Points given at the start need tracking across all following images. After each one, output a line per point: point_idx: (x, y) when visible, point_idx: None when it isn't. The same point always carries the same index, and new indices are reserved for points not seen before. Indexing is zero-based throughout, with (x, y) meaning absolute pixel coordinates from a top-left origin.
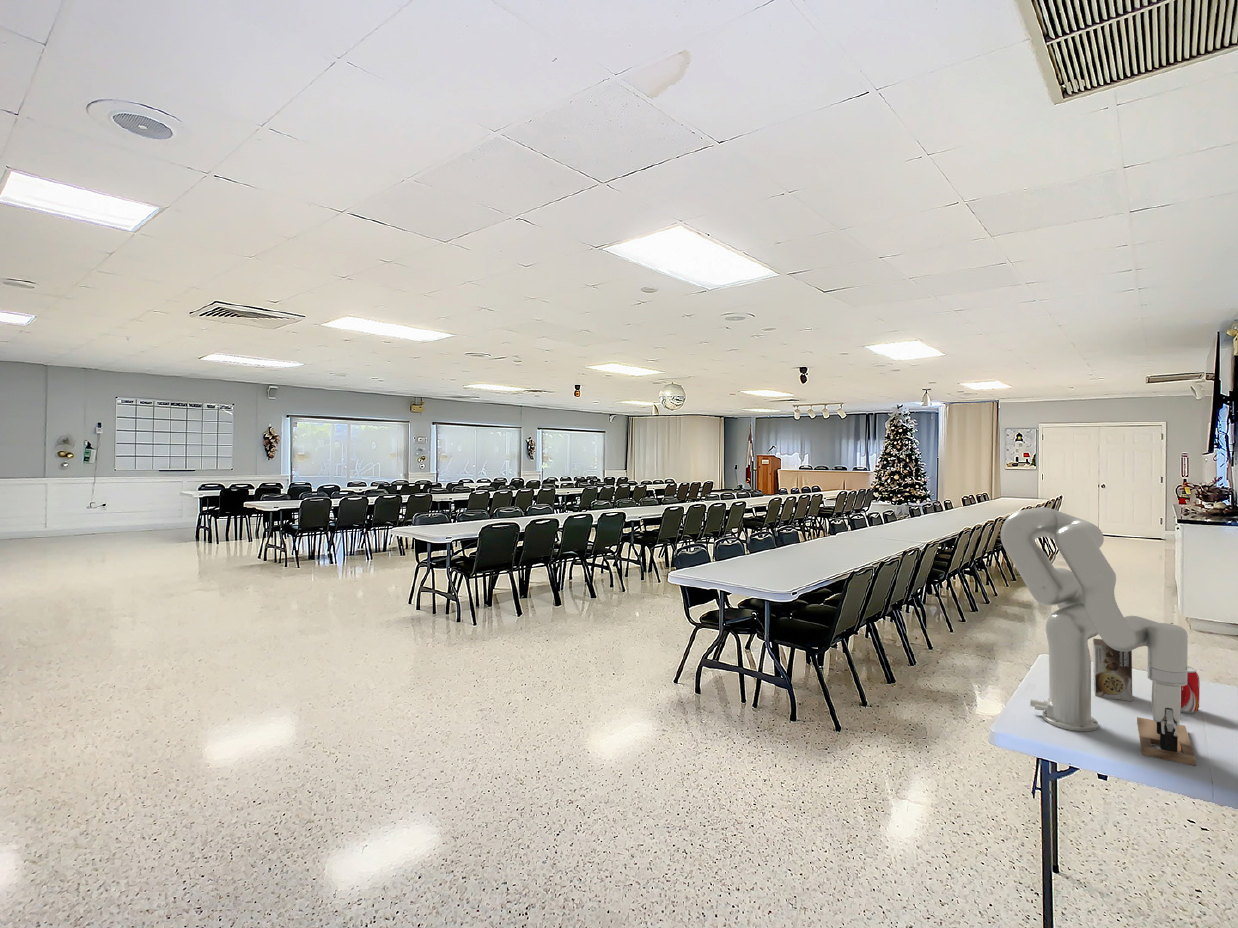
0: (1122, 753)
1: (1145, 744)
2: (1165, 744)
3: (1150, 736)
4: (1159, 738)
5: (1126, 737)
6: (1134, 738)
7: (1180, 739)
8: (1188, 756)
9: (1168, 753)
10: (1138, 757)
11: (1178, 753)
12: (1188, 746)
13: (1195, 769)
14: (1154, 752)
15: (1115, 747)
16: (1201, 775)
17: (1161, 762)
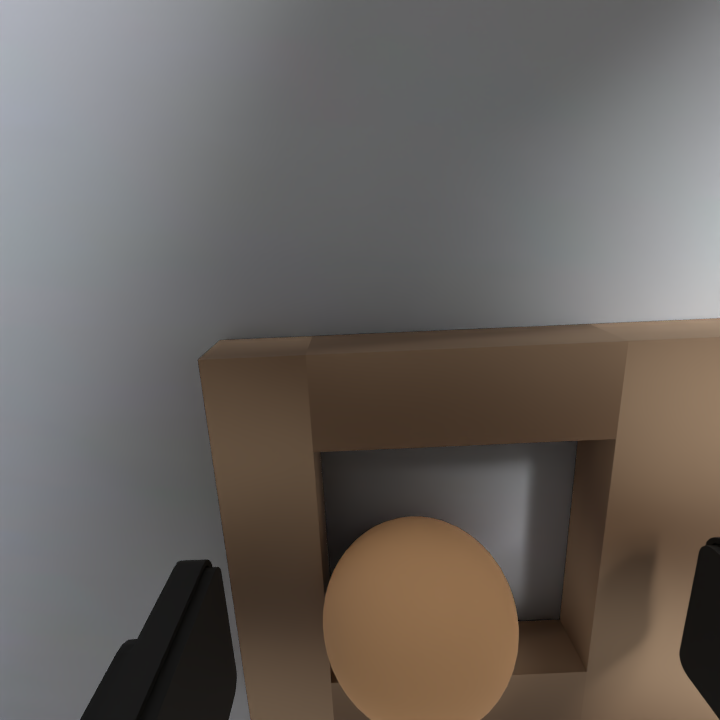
0: (112, 147)
1: (371, 393)
2: (107, 676)
3: (676, 442)
4: (654, 519)
5: (668, 187)
6: (675, 270)
7: None
8: (292, 708)
9: (250, 581)
10: (120, 306)
11: (310, 650)
12: (557, 715)
13: None
14: (216, 465)
15: (253, 63)
16: None
17: (149, 487)
